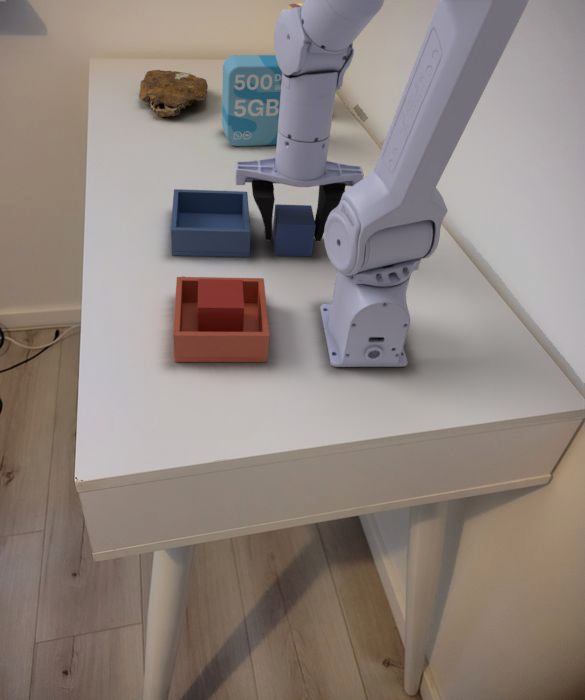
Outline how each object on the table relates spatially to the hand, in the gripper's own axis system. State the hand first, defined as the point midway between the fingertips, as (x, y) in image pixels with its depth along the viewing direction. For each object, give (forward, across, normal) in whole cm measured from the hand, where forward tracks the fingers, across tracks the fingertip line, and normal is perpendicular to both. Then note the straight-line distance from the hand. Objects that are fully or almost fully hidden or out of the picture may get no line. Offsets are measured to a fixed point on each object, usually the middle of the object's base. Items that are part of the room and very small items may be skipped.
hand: (292, 236), depth 79 cm
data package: (+2, +2, -29) cm, 29 cm away
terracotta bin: (+1, +9, +16) cm, 18 cm away
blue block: (+1, 0, 0) cm, 1 cm away
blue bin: (+1, +10, -2) cm, 10 cm away
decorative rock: (+2, +16, -41) cm, 44 cm away
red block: (+1, +9, +16) cm, 18 cm away
